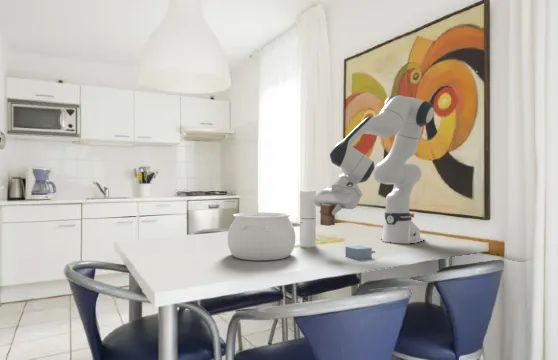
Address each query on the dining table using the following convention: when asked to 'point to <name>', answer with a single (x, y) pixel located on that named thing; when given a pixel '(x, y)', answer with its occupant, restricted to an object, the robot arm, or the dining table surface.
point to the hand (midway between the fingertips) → (326, 213)
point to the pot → (261, 236)
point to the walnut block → (327, 215)
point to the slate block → (358, 252)
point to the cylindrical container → (307, 219)
